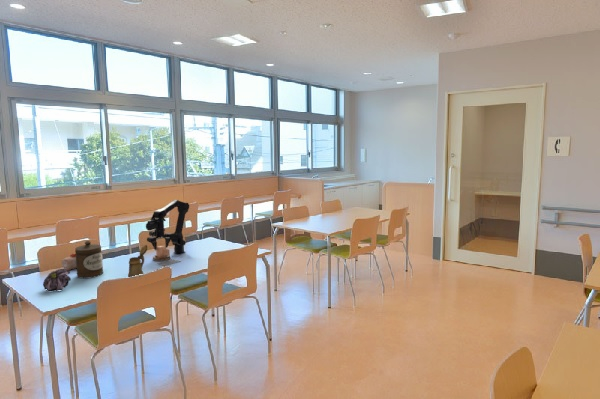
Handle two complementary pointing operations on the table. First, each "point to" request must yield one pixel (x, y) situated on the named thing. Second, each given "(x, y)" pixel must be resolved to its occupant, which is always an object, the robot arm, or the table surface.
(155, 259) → the collar
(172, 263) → the mat
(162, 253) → the peach rounded piece
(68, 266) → the food item
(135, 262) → the wooden mug
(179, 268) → the table surface
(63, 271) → the decorative flower
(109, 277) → the table surface
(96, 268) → the wooden container
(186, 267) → the table surface
